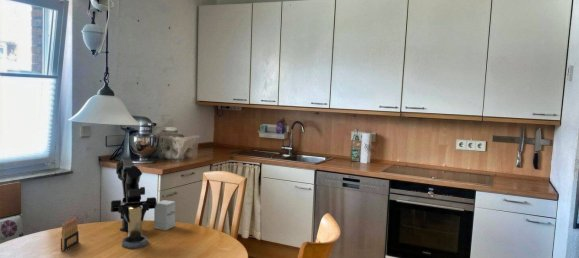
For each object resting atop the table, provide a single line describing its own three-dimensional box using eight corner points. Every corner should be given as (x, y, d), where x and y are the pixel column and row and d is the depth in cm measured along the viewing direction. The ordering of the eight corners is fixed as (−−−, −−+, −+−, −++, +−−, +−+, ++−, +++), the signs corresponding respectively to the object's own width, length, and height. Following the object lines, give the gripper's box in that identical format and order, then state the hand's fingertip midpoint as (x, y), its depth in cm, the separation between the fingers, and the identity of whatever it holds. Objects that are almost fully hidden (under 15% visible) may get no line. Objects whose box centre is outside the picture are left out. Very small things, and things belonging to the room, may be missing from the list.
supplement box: (166, 230, 206) (166, 204, 205) (153, 228, 208) (153, 202, 207) (175, 226, 213) (175, 201, 212) (163, 224, 215) (163, 199, 214)
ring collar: (116, 245, 184) (116, 240, 184) (136, 238, 194) (136, 233, 194) (133, 250, 179) (133, 245, 179) (153, 243, 188) (153, 238, 188)
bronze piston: (127, 234, 187) (127, 206, 186) (140, 232, 190) (140, 205, 189) (129, 238, 182) (129, 209, 181) (143, 236, 185) (143, 208, 184)
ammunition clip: (64, 251, 176) (64, 222, 175) (60, 250, 176) (60, 222, 175) (78, 242, 187) (78, 215, 186) (74, 242, 187) (74, 215, 186)
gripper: (110, 182, 184) (112, 214, 175) (156, 179, 192) (160, 210, 183) (109, 195, 191) (111, 227, 182) (153, 192, 200) (156, 222, 191)
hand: (135, 221), depth 184 cm, fingers closed on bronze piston, 5 cm apart
